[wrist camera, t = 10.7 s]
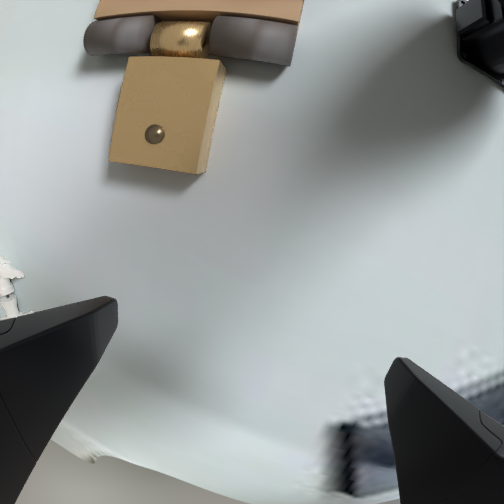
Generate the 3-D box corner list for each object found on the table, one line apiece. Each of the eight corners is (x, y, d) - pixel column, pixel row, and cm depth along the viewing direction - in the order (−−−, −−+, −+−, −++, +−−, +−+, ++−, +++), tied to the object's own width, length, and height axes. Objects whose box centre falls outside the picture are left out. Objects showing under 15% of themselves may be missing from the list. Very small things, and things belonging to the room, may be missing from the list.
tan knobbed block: (205, 172, 19) (194, 174, 17) (125, 159, 19) (105, 161, 17) (236, 33, 16) (229, 16, 13) (154, 30, 16) (138, 16, 14)
